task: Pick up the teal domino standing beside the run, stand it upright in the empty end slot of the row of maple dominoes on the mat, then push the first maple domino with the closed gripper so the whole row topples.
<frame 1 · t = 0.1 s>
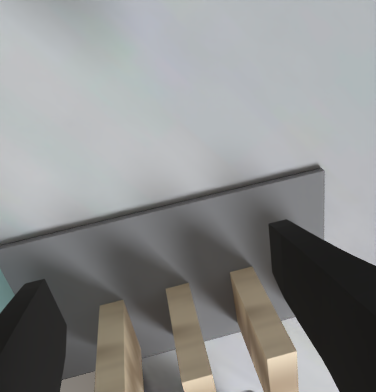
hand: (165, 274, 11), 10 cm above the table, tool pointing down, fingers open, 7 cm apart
domino 4: (121, 328, 25), resting on domino mat
domino mat: (169, 283, 25), on the table
domino 2: (244, 295, 26), resting on domino mat
domino 3: (183, 312, 25), resting on domino mat
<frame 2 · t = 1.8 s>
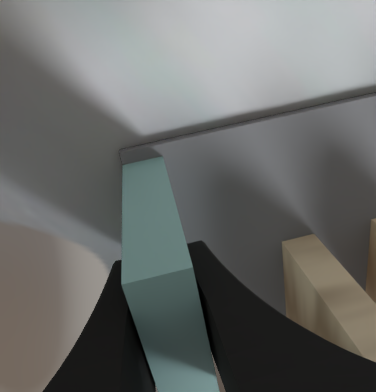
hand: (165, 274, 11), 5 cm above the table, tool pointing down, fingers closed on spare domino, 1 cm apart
domino 4: (299, 277, 18), resting on domino mat
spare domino: (156, 214, 15), resting on domino mat, touching gripper
domino mat: (371, 213, 18), on the table
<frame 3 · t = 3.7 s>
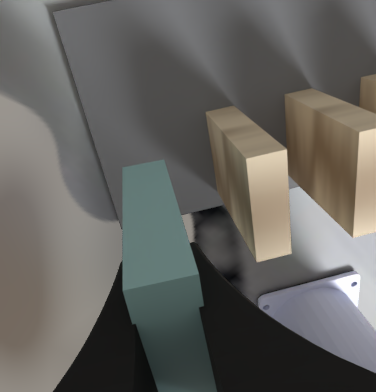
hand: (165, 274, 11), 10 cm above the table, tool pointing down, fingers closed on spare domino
domino 4: (225, 151, 21), resting on domino mat
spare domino: (155, 219, 15), point 7 cm above the table, touching gripper
domino mat: (286, 91, 20), on the table
domino 2: (370, 117, 21), resting on domino mat
domino 3: (299, 133, 21), resting on domino mat
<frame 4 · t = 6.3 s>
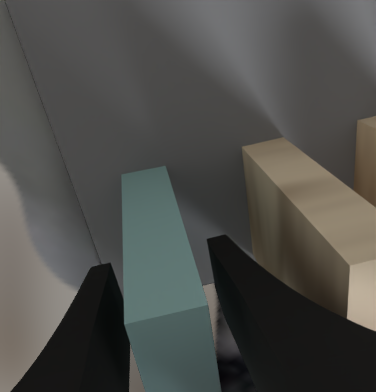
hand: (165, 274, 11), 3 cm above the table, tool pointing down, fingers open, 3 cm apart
domino 4: (267, 200, 14), resting on domino mat
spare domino: (156, 227, 14), resting on domino mat
domino mat: (358, 115, 14), on the table
domino 3: (372, 175, 15), resting on domino mat
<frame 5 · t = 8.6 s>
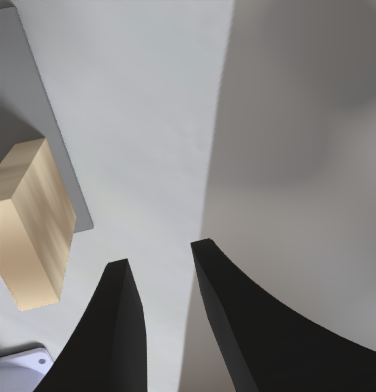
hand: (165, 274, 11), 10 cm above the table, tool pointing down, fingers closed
domino 1: (47, 183, 20), resting on domino mat
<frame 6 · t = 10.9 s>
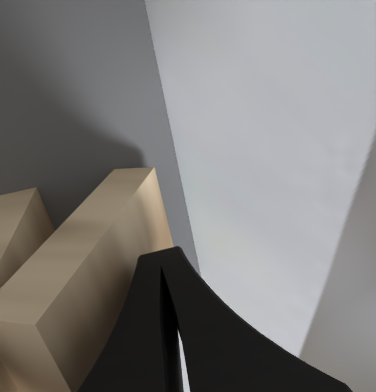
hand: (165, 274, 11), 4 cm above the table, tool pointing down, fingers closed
domino 1: (149, 224, 14), point 1 cm above the table, tilted 25°, touching domino mat
domino 2: (40, 247, 14), resting on domino mat
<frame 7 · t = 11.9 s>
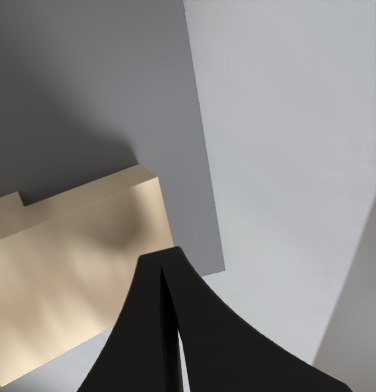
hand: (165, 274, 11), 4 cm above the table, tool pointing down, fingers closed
domino 1: (162, 228, 14), point 1 cm above the table, tilted 69°, touching domino 2, domino mat
domino 2: (46, 255, 14), point 1 cm above the table, tilted 70°, touching domino 1, domino 3, domino mat
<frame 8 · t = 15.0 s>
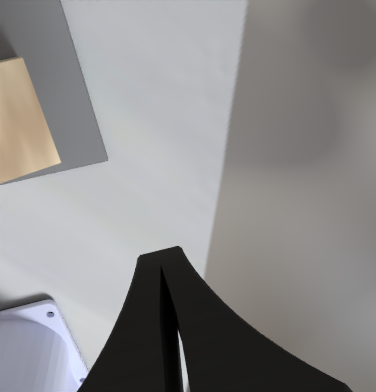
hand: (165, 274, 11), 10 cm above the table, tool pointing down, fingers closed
domino 1: (40, 111, 17), point 1 cm above the table, tilted 69°, touching domino 2, domino mat
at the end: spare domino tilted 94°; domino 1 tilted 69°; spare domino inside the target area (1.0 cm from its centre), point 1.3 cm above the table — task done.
